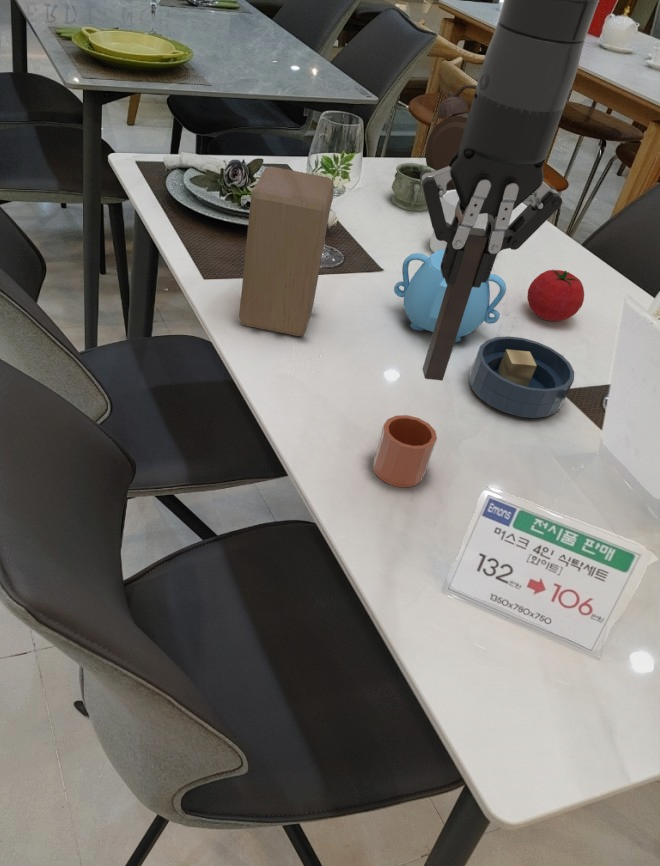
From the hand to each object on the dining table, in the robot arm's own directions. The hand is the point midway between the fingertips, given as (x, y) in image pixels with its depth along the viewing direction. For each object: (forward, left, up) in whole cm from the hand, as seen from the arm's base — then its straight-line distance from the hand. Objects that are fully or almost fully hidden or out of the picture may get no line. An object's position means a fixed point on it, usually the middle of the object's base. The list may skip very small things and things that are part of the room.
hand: (461, 281), depth 76 cm
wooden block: (+16, -32, -25) cm, 44 cm away
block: (-19, -21, -24) cm, 37 cm away
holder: (+1, +1, -25) cm, 25 cm away
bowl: (-18, -19, -25) cm, 36 cm away
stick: (0, 0, -11) cm, 11 cm away
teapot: (-10, -36, -25) cm, 45 cm away
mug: (-18, -62, -25) cm, 70 cm away
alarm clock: (-21, -91, -25) cm, 97 cm away
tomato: (-29, -42, -25) cm, 57 cm away
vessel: (-11, -82, -25) cm, 87 cm away
